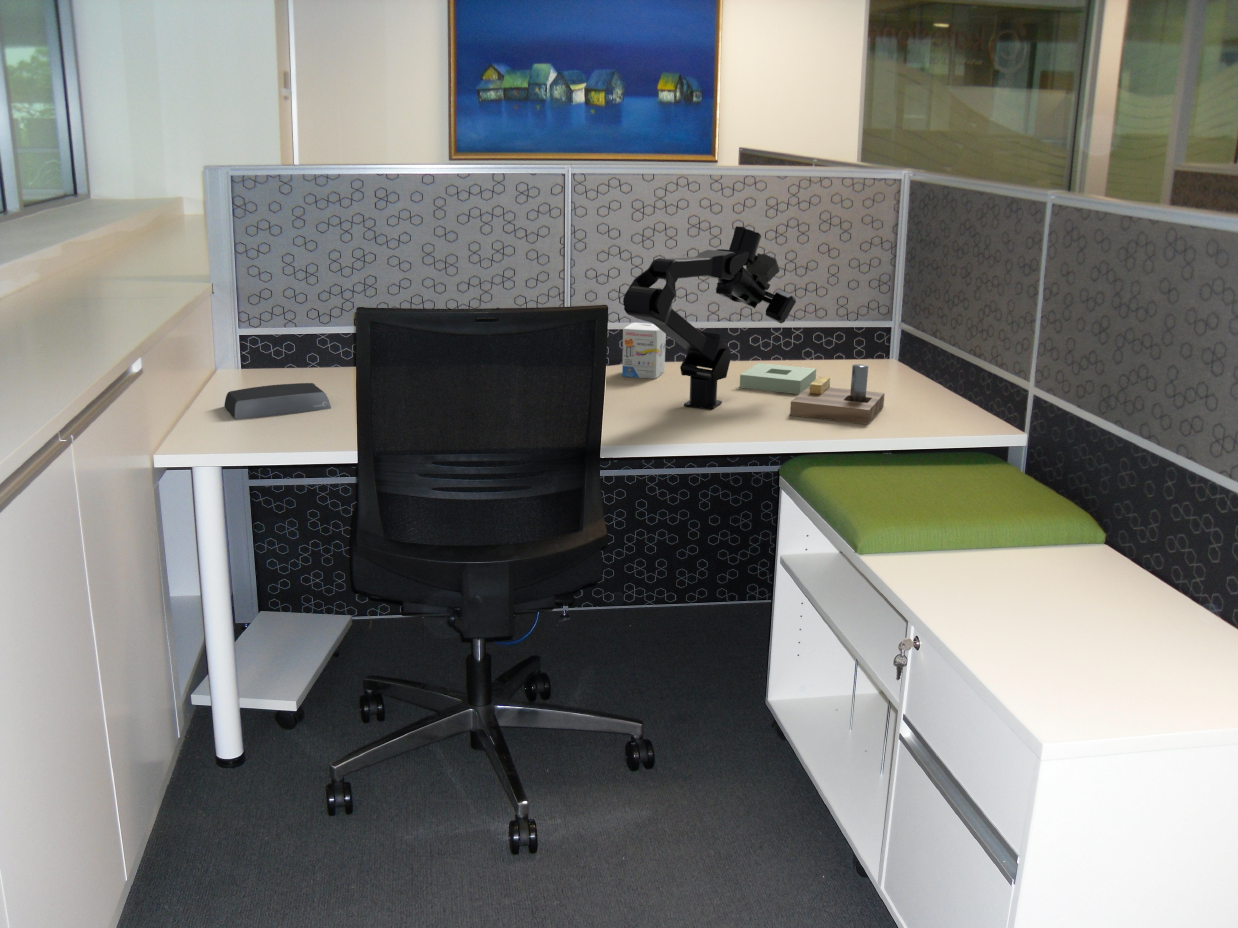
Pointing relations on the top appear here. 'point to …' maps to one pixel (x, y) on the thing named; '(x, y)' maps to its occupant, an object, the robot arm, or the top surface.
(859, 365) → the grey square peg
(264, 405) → the external hard drive
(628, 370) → the ink box
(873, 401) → the socket block
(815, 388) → the yellow wooden bar
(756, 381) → the green slotted base
